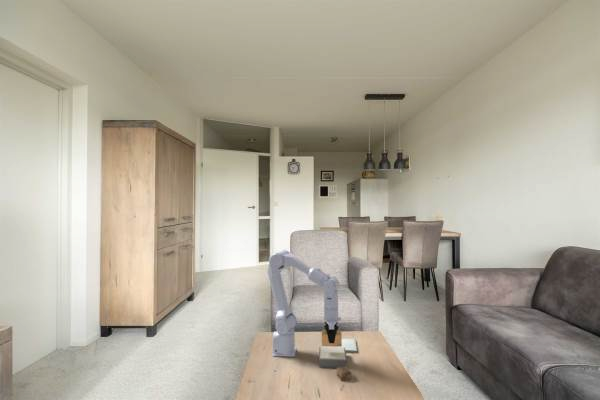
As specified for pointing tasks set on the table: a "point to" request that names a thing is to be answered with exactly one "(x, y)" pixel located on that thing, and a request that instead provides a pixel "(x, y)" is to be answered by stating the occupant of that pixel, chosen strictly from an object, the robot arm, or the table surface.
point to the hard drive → (349, 345)
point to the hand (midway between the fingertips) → (331, 340)
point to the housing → (337, 339)
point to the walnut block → (344, 373)
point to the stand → (332, 357)
